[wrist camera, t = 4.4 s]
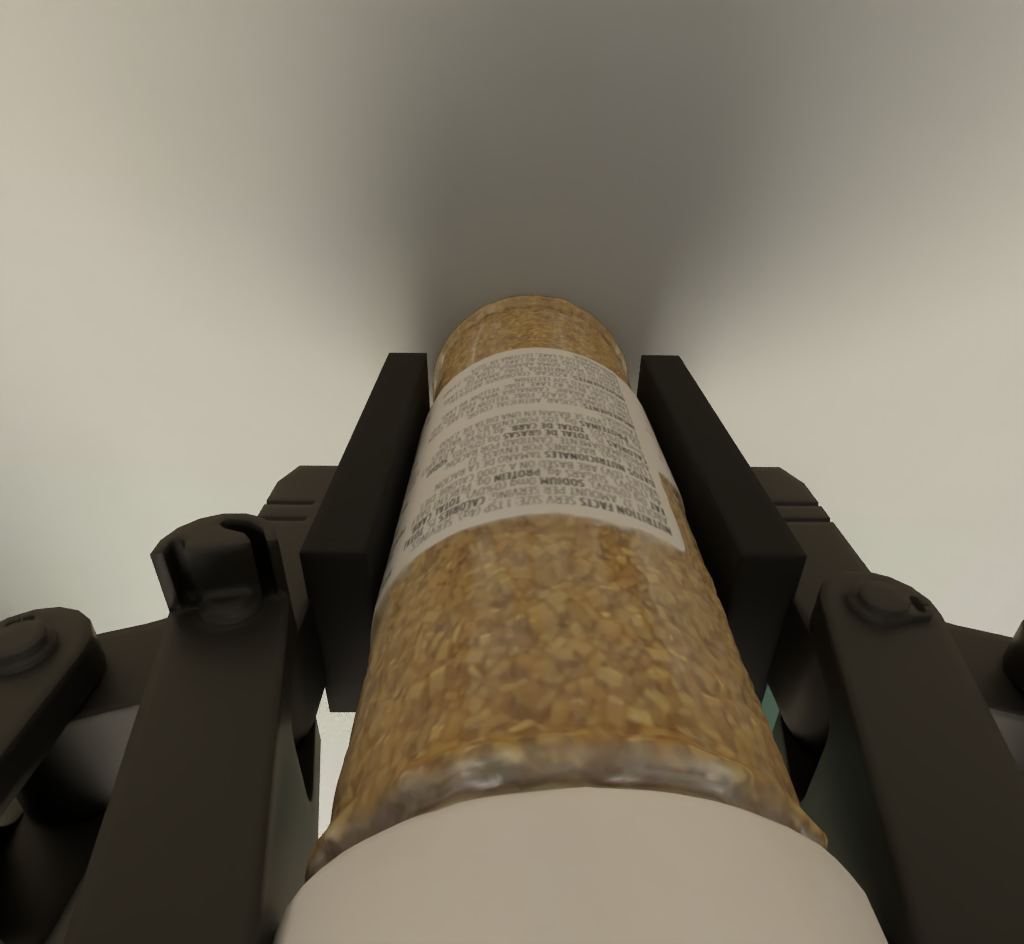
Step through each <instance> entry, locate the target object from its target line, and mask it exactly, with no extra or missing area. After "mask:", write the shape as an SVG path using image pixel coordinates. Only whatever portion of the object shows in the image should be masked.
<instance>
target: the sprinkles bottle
mask: <svg viewBox="0 0 1024 944" xmlns="http://www.w3.org/2000/svg"><path fill="white" fill-rule="evenodd" d="M827 846H828V839H827V837H826V834H825V833H824V832H823V831H822V830H821V829H820V828H819V827H818V826H817V825H816V824H815V823H814V822H813V821H812V820H811V819H810V818H809V816H808V815H807V814H806V813H805V812H804V811H803V810H802V809H801V808H800V803H799V800H798V797H797V795H796V792H795V790H794V787H793V785H792V782H791V779H790V777H789V774H788V771H787V768H786V766H785V763H784V760H783V758H782V755H781V753H780V751H779V749H778V747H777V745H776V743H775V741H774V739H773V735H772V732H771V729H770V726H769V723H768V721H767V718H766V717H765V715H764V713H763V712H762V708H761V704H760V701H759V699H758V697H757V696H756V694H755V692H754V686H753V683H752V681H751V680H750V678H749V674H748V672H747V670H746V669H745V667H744V665H743V663H742V660H741V657H740V653H739V651H738V649H737V646H736V644H735V641H734V638H733V635H732V632H731V630H730V628H729V625H728V620H727V616H726V614H725V611H724V609H723V607H722V604H721V602H720V600H719V598H718V597H717V593H716V589H715V586H714V583H713V580H712V578H711V576H710V574H709V572H708V571H707V569H706V567H705V565H704V562H703V559H702V556H701V553H700V551H699V549H698V547H697V542H696V540H695V538H694V536H693V534H692V532H691V530H690V527H689V524H688V522H687V519H686V515H685V508H684V504H683V500H682V497H681V495H680V492H679V489H678V487H677V485H676V483H675V480H674V478H673V476H672V474H671V471H670V469H669V467H668V465H667V462H666V460H665V458H664V455H663V453H662V451H661V449H660V446H659V444H658V442H657V439H656V437H655V434H654V432H653V429H652V427H651V424H650V422H649V420H648V418H647V415H646V413H645V411H644V409H643V407H642V405H641V403H640V402H639V400H638V398H637V397H636V395H635V394H634V393H633V391H632V389H631V387H630V385H629V382H628V371H627V366H626V361H625V358H624V355H623V353H622V351H621V349H620V348H619V346H618V345H617V343H616V341H615V339H614V338H613V336H612V335H611V333H610V332H609V331H608V330H607V329H606V328H605V327H604V326H603V325H602V324H601V323H600V322H599V321H598V320H597V319H596V318H594V317H593V316H592V315H590V314H589V313H587V312H586V311H584V310H583V309H581V308H579V307H577V306H575V305H573V304H572V303H570V302H568V301H566V300H564V299H559V298H548V297H543V296H535V295H531V296H515V297H509V298H506V299H502V300H500V301H497V302H494V303H491V304H487V305H484V306H483V307H482V308H481V309H479V310H478V311H477V312H475V313H474V314H472V315H471V316H469V317H468V318H466V319H465V320H464V321H463V322H462V323H461V324H460V325H459V326H458V327H457V328H456V330H455V331H454V332H453V333H452V334H451V336H450V337H449V339H448V340H447V342H446V343H445V345H444V347H443V348H442V350H441V353H440V355H439V357H438V360H437V363H436V366H435V373H434V381H433V405H432V406H431V408H430V410H429V412H428V414H427V417H426V420H425V423H424V426H423V429H422V432H421V436H420V440H419V444H418V447H417V451H416V455H415V459H414V463H413V466H412V470H411V474H410V478H409V482H408V486H407V490H406V493H405V497H404V501H403V505H402V509H401V513H400V516H399V520H398V523H397V527H396V531H395V535H394V539H393V543H392V547H391V550H390V554H389V558H388V562H387V565H386V569H385V572H384V576H383V579H382V583H381V587H380V590H379V594H378V598H377V602H376V606H375V609H374V615H373V620H372V628H371V642H370V655H369V659H368V665H367V674H366V676H365V679H364V683H363V686H362V690H361V693H360V699H359V704H358V707H357V710H356V714H355V719H354V723H353V727H352V732H351V737H350V742H349V747H348V750H347V752H346V755H345V758H344V763H343V766H342V770H341V773H340V776H339V780H338V783H337V787H336V791H335V796H334V802H333V808H332V816H331V823H330V825H329V826H328V828H327V830H326V831H325V832H324V833H323V835H322V836H321V837H320V838H319V839H318V840H317V842H316V843H315V845H314V848H313V850H312V852H311V854H310V858H309V862H308V866H307V870H306V874H305V884H304V885H303V886H302V887H301V889H300V890H299V891H298V893H297V894H296V895H295V896H294V898H293V899H292V901H291V902H290V904H289V905H288V907H287V908H286V910H285V912H284V915H283V917H282V919H281V921H280V923H279V926H278V928H277V930H276V933H275V937H274V940H273V944H888V942H887V940H886V938H885V936H884V933H883V931H882V929H881V927H880V924H879V922H878V920H877V918H876V916H875V913H874V911H873V909H872V907H871V904H870V902H869V900H868V898H867V896H866V893H865V892H864V891H863V889H862V888H861V887H860V886H859V884H858V883H857V882H856V881H855V879H854V878H853V877H852V876H851V874H850V873H849V872H848V871H847V870H846V869H845V868H844V867H843V866H842V865H841V864H840V862H839V861H838V860H837V859H836V858H835V857H833V856H832V855H831V854H830V853H829V852H828V851H827Z"/></svg>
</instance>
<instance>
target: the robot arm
mask: <svg viewBox="0 0 1024 944" xmlns="http://www.w3.org/2000/svg"><path fill="white" fill-rule="evenodd" d="M637 398H638V400H639V402H640V403H641V405H642V407H643V409H644V411H645V413H646V415H647V418H648V420H649V422H650V424H651V427H652V429H653V432H654V434H655V437H656V439H657V442H658V444H659V446H660V449H661V451H662V453H663V455H664V458H665V460H666V462H667V465H668V467H669V469H670V471H671V474H672V476H673V478H674V480H675V483H676V485H677V487H678V489H679V492H680V495H681V497H682V500H683V504H684V508H685V515H686V519H687V522H688V524H689V527H690V530H691V532H692V534H693V536H694V538H695V540H696V542H697V547H698V549H699V551H700V553H701V556H702V559H703V562H704V565H705V567H706V569H707V571H708V572H709V574H710V576H711V578H712V580H713V583H714V586H715V589H716V593H717V597H718V598H719V600H720V602H721V604H722V607H723V609H724V611H725V614H726V616H727V620H728V625H729V628H730V630H731V632H732V635H733V638H734V641H735V644H736V646H737V649H738V651H739V653H740V657H741V660H742V663H743V665H744V667H745V669H746V670H747V672H748V674H749V678H750V680H751V681H752V683H753V686H754V692H755V694H756V696H757V697H758V699H759V701H760V704H762V701H763V698H764V695H765V691H766V688H767V685H769V687H770V690H771V692H772V694H773V697H774V699H775V701H776V704H777V706H778V708H779V713H778V716H777V719H776V722H775V725H774V728H773V731H772V735H773V739H774V741H775V743H776V745H777V747H778V749H779V751H780V753H781V755H782V758H783V760H784V763H785V766H786V768H787V771H788V774H789V777H790V779H791V782H792V785H793V787H794V790H795V792H796V795H797V797H798V800H799V803H800V808H801V809H802V810H803V811H804V812H805V813H806V814H807V815H808V816H809V818H810V819H811V820H812V821H813V822H814V823H815V824H816V825H817V826H818V827H819V828H820V829H821V830H822V831H823V832H824V833H825V834H826V837H827V839H828V846H827V851H828V852H829V853H830V854H831V855H832V856H833V857H835V858H836V859H837V860H838V861H839V862H840V864H841V865H842V866H843V867H844V868H845V869H846V870H847V871H848V872H849V873H850V874H851V876H852V877H853V878H854V879H855V881H856V882H857V883H858V884H859V886H860V887H861V888H862V889H863V891H864V892H865V893H866V896H867V898H868V900H869V902H870V904H871V907H872V909H873V911H874V913H875V916H876V918H877V920H878V922H879V924H880V927H881V929H882V931H883V933H884V936H885V938H886V940H887V942H888V944H1024V620H1023V621H1022V623H1021V624H1020V626H1019V628H1018V630H1017V631H1016V633H1015V635H1014V637H1013V638H1012V637H1007V636H1003V635H998V634H993V633H989V632H984V631H980V630H975V629H971V628H966V627H962V626H957V625H953V624H950V623H946V622H945V621H944V619H943V617H942V615H941V614H940V613H939V612H938V610H937V609H936V608H935V606H934V605H933V604H932V603H931V601H930V600H929V599H927V598H926V597H924V596H923V595H922V594H920V593H919V592H917V591H916V590H915V589H913V588H912V587H910V586H908V585H906V584H904V583H901V582H899V581H897V580H895V579H893V578H890V577H887V576H883V575H879V574H875V573H871V572H870V571H869V569H868V568H867V567H866V565H865V564H864V563H863V561H862V560H861V559H860V558H859V556H858V555H857V554H856V552H855V551H854V550H853V548H852V547H851V546H850V544H849V543H848V542H847V540H846V539H845V538H844V536H843V535H842V534H841V532H840V531H839V530H838V528H837V527H836V526H835V524H834V523H833V522H830V518H829V516H828V515H827V514H826V512H825V511H824V510H823V508H822V507H821V506H818V502H817V500H816V499H815V498H814V496H813V495H812V494H811V492H810V491H809V490H808V488H807V487H806V486H805V484H804V483H802V482H801V481H799V480H798V479H796V478H795V477H793V476H792V475H790V474H789V473H787V472H786V471H784V470H783V469H781V468H780V467H750V466H749V464H748V463H747V461H746V460H745V458H744V457H743V455H742V454H741V452H740V450H739V449H738V447H737V446H736V444H735V443H734V441H733V439H732V438H731V436H730V435H729V433H728V432H727V430H726V429H725V427H724V425H723V424H722V422H721V421H720V419H719V418H718V416H717V414H716V413H715V411H714V410H713V408H712V407H711V405H710V404H709V402H708V400H707V399H706V397H705V396H704V394H703V393H702V391H701V389H700V388H699V386H698V385H697V383H696V382H695V380H694V379H693V377H692V375H691V374H690V372H689V371H688V369H687V368H686V366H685V365H684V363H683V361H682V360H681V358H680V357H679V356H664V355H642V357H641V365H640V373H639V382H638V390H637ZM429 410H430V403H429V385H428V368H427V353H389V354H388V357H387V359H386V361H385V363H384V365H383V368H382V370H381V372H380V374H379V377H378V379H377V381H376V383H375V385H374V388H373V390H372V392H371V394H370V396H369V399H368V401H367V403H366V405H365V408H364V410H363V412H362V414H361V416H360V419H359V421H358V423H357V425H356V428H355V430H354V432H353V434H352V436H351V439H350V441H349V443H348V445H347V448H346V450H345V452H344V454H343V456H342V459H341V461H340V463H339V465H338V466H299V467H297V468H296V469H295V470H293V471H292V472H291V473H289V474H288V475H286V476H285V477H284V478H282V479H281V480H280V481H278V482H277V484H276V486H275V487H274V489H273V491H272V493H271V494H270V496H269V498H268V499H267V505H264V506H263V508H262V510H261V511H260V513H259V515H258V516H254V515H250V514H220V515H215V516H210V517H206V518H201V519H198V520H196V521H193V522H191V523H189V524H186V525H184V526H181V527H179V528H177V529H176V530H174V531H173V532H172V533H170V534H169V535H167V536H166V537H164V538H163V539H162V540H160V542H159V543H158V544H157V546H156V547H155V549H154V550H153V551H152V553H151V554H150V556H151V559H152V562H153V565H154V567H155V570H156V573H157V576H158V579H159V582H160V585H161V588H162V591H163V594H164V597H165V600H166V602H167V605H168V608H169V611H170V613H169V616H168V618H166V619H162V620H159V621H155V622H151V623H148V624H143V625H139V626H134V627H129V628H125V629H120V630H116V631H111V632H106V633H102V634H97V635H96V632H95V630H94V628H93V625H92V623H91V621H90V619H89V618H87V617H86V616H85V615H84V614H82V613H81V612H80V611H79V610H73V609H68V608H62V607H55V608H45V609H36V610H32V611H29V612H25V613H22V614H18V615H16V616H13V617H9V618H7V619H5V620H3V621H1V622H0V944H273V940H274V937H275V933H276V930H277V928H278V926H279V923H280V921H281V919H282V917H283V915H284V912H285V910H286V908H287V907H288V905H289V904H290V902H291V901H292V899H293V898H294V896H295V895H296V894H297V893H298V891H299V890H300V889H301V887H302V886H303V885H304V884H305V874H306V870H307V866H308V862H309V858H310V854H311V852H312V850H313V848H314V845H315V843H316V842H317V840H318V819H319V783H320V746H321V739H320V734H319V730H318V725H317V720H316V714H317V711H318V707H319V704H320V701H321V698H322V694H323V691H324V688H325V689H326V694H327V699H328V704H329V709H330V712H356V710H357V707H358V704H359V699H360V693H361V690H362V686H363V683H364V679H365V676H366V674H367V665H368V659H369V655H370V642H371V628H372V620H373V615H374V609H375V606H376V602H377V598H378V594H379V590H380V587H381V583H382V579H383V576H384V572H385V569H386V565H387V562H388V558H389V554H390V550H391V547H392V543H393V539H394V535H395V531H396V527H397V523H398V520H399V516H400V513H401V509H402V505H403V501H404V497H405V493H406V490H407V486H408V482H409V478H410V474H411V470H412V466H413V463H414V459H415V455H416V451H417V447H418V444H419V440H420V436H421V432H422V429H423V426H424V423H425V420H426V417H427V414H428V412H429ZM15 797H16V798H15ZM13 800H14V801H13ZM11 803H12V804H11ZM10 804H11V805H10ZM8 807H9V808H8Z"/></svg>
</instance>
